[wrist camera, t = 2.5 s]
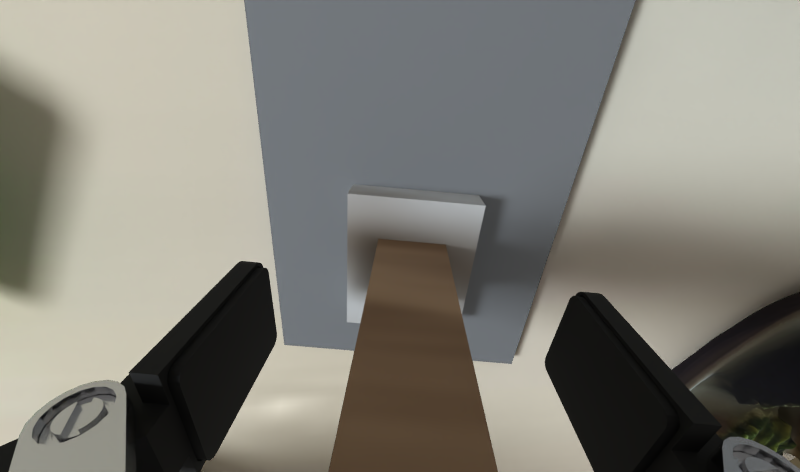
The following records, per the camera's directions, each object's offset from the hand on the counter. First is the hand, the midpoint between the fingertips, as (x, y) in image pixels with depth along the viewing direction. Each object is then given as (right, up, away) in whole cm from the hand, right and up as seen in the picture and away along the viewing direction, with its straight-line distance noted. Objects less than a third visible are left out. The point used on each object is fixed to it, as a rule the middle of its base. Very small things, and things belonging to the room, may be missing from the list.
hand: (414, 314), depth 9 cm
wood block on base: (0, +2, +4) cm, 4 cm away
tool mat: (0, +4, +3) cm, 5 cm away
